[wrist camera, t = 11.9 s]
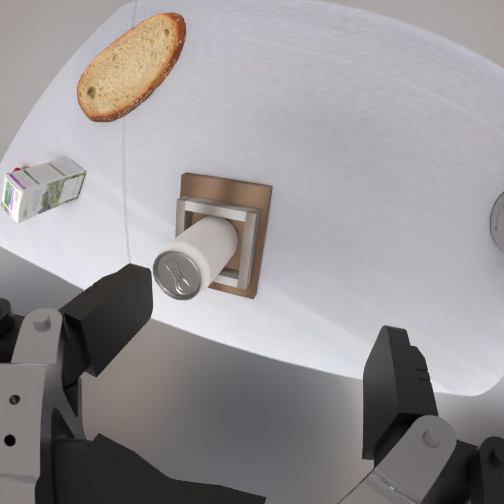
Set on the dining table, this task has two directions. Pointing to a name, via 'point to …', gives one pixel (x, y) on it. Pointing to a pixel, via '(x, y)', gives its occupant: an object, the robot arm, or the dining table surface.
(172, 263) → the can
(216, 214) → the board
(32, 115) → the dining table surface
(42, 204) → the syrup box
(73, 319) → the robot arm
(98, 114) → the slice of bread
